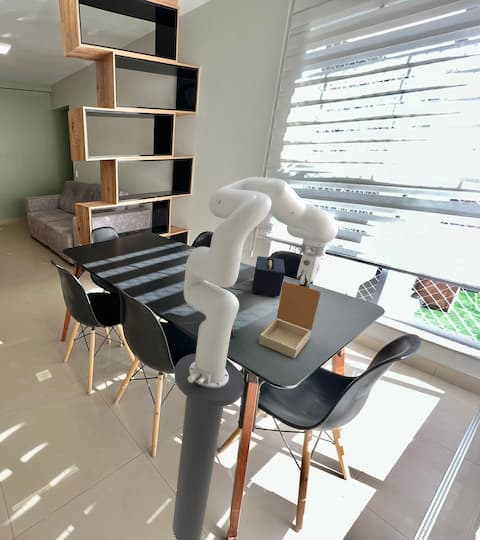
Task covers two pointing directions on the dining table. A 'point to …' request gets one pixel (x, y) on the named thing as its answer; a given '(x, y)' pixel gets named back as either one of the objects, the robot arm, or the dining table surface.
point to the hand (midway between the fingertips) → (301, 294)
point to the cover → (298, 305)
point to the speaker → (268, 276)
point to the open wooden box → (284, 338)
